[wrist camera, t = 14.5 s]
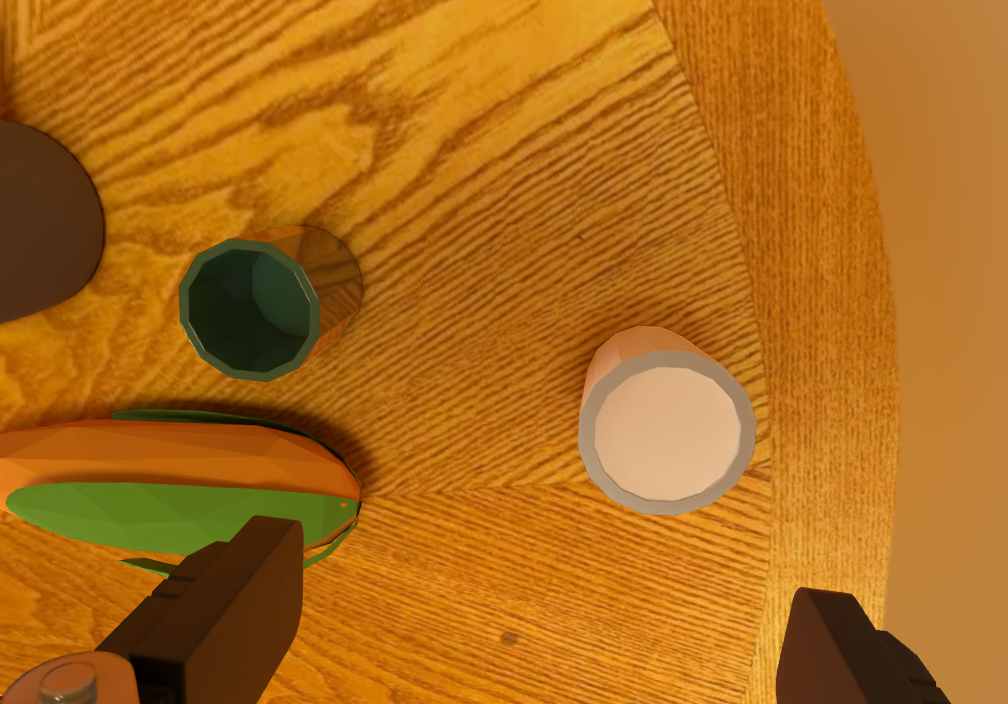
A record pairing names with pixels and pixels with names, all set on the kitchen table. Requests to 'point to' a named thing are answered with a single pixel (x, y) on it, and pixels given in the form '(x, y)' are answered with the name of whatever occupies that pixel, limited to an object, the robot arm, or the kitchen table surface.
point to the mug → (43, 223)
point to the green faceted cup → (269, 300)
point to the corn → (175, 481)
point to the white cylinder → (663, 423)
